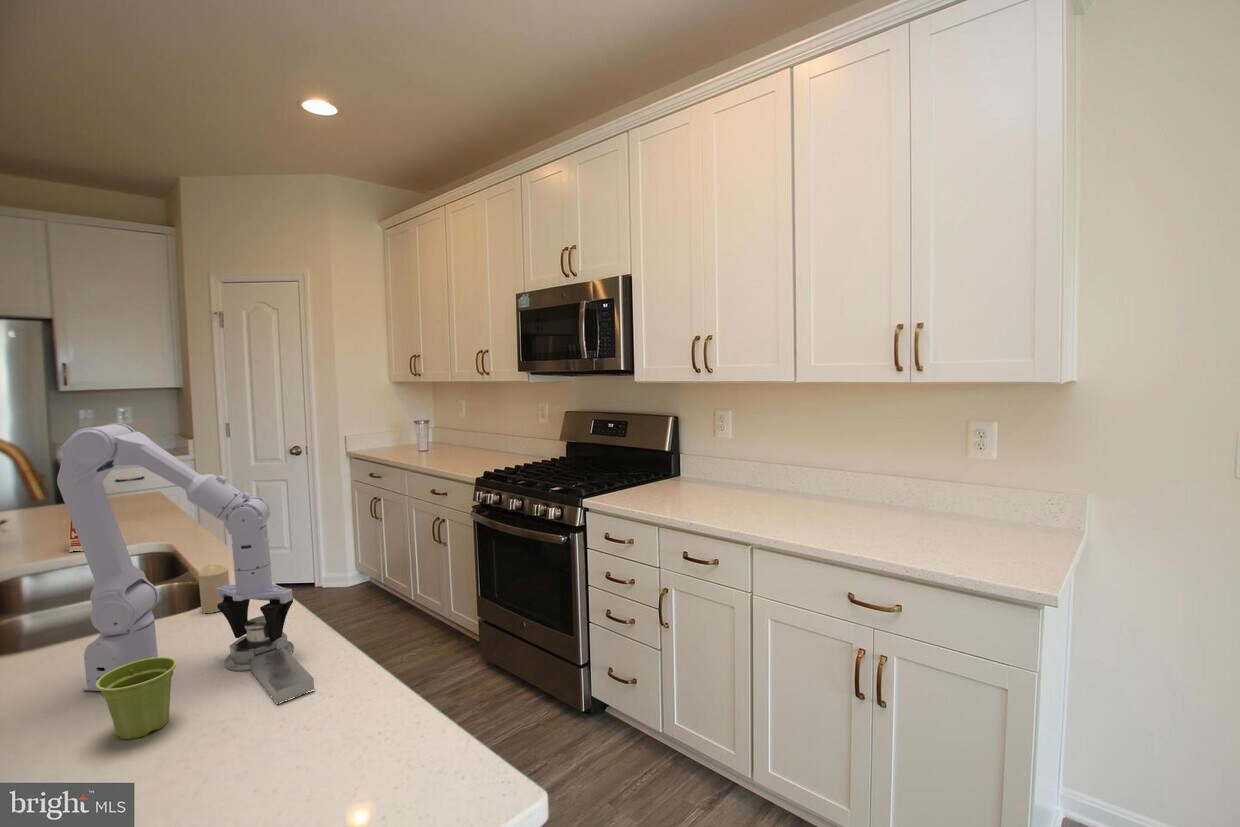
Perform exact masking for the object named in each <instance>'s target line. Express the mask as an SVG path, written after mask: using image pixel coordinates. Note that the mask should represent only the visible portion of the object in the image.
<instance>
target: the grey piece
mask: <svg viewBox="0 0 1240 827" xmlns="http://www.w3.org/2000/svg"><path fill="white" fill-rule="evenodd" d="M293 649H295V647H294V643H293V642H292V641H289V640H288V635H287V634H286V633H285V632H284V630H283V631H282V637H280V638H279V639H277V640H276V641H275V642H273V643H272V644H269V645H266V646H262V647H259V648H256V649H248V643H247V634H245V635H243V636H242V637H240V638H237V639H236V641H234V642H233V643H230V645H229V652H230V654H228V656H227V657H225V659H224V661H223V662H224V668H226V669H227V670H229V671H232V672H251V673H253V674H254V675H253V674H252V675H253V676H254V678H255V679H256V678H257V679H258V680H259V681H258V680H257V681H258V682H259V684H260V683H261V684H262V685H263V686H262V685H261V684H260V685H261V686H262V687H263V688H265V689H266V690H267V691H266V690H265V689H264V690H265V691H266V692H267V693H269V694H270V695H271V696H272V698H273V699H274V700H275V701H276V703H280V702H282V701H285V700H288V699H290V698H293V697H296V696H299V695H302V694H304V693H306V692H308V691H311V690H313V689H314V690H315V680H314V676H312V675H311V674H310V672H308V670H307V669H305V667H304V666H302V664H300V662H298V661H297V660H296V659H295V657H293V656H292V654H291V655H290V653H291V652H292V651H293V652H294V650H293ZM293 652H292V653H293ZM248 670H250V671H248ZM269 694H268V695H269ZM270 695H269V696H270ZM271 696H270V697H271ZM272 698H271V699H272ZM273 699H272V700H273ZM274 700H273V701H274ZM275 701H274V702H275ZM276 703H275V704H276Z"/></svg>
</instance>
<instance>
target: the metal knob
mask: <svg viewBox="0 0 1240 827" xmlns="http://www.w3.org/2000/svg"><path fill="white" fill-rule="evenodd" d="M244 627H245V629H246V631H247V634H246V635H247V643H248V649H256V648H259V647H262V646H266V645H269V644H272V643H273V642H275V641H276V640H275V641H270V639H269V636H268V629H267V623H266V620H265V617H264V615H259V616H256V617H252V618H251V619H248V621H247V622H245V624H244Z"/></svg>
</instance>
